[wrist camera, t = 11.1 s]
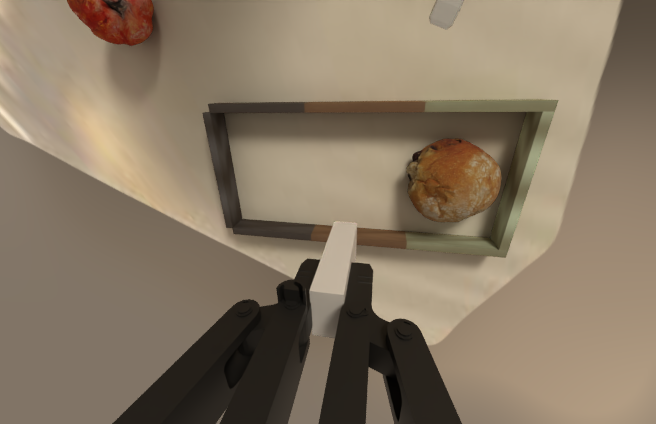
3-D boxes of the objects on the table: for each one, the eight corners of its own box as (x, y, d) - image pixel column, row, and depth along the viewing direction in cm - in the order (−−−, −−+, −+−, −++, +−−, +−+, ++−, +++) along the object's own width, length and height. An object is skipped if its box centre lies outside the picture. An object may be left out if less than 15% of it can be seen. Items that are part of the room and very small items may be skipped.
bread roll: (423, 206, 38) (447, 249, 32) (383, 168, 32) (405, 211, 27) (487, 164, 34) (529, 203, 28) (455, 111, 28) (499, 147, 23)
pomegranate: (134, 44, 35) (152, 71, 30) (56, 7, 29) (61, 32, 24) (150, -15, 32) (172, 3, 27) (68, -69, 26) (76, -59, 21)
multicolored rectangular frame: (214, 103, 34) (200, 104, 31) (540, 99, 27) (558, 100, 24) (237, 224, 41) (227, 233, 39) (496, 244, 35) (505, 257, 32)
